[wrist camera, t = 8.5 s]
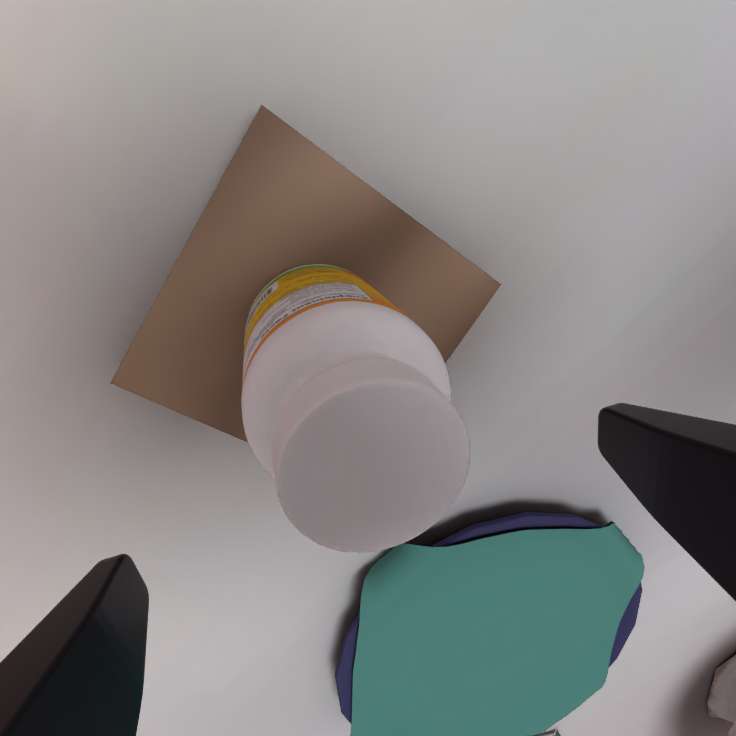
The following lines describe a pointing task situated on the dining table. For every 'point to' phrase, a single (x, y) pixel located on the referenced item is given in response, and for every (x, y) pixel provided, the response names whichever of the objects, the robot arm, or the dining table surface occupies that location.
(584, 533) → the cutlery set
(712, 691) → the ceramic pitcher
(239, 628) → the dining table surface
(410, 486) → the supplement bottle
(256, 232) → the walnut board
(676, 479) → the robot arm
